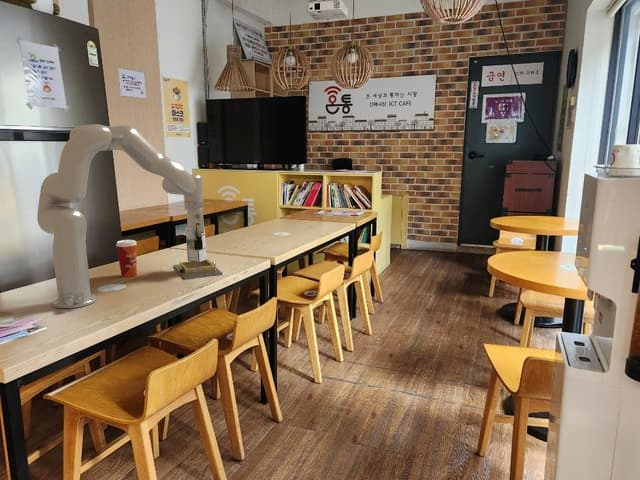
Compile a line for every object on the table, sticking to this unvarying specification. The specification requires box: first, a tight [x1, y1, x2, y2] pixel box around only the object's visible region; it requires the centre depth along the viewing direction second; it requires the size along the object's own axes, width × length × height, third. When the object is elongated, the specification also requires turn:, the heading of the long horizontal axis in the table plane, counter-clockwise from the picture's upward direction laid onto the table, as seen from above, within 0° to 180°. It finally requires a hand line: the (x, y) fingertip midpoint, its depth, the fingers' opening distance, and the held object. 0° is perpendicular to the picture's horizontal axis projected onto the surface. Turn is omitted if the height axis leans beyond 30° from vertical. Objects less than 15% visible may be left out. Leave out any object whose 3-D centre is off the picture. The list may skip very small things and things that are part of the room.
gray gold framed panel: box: [173, 259, 223, 280], centre depth 190 cm, size 22×15×3 cm
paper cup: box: [115, 239, 138, 278], centre depth 181 cm, size 8×8×14 cm
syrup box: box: [185, 225, 207, 262], centre depth 188 cm, size 6×6×14 cm
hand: (196, 247), depth 188 cm, fingers closed on syrup box, 8 cm apart
